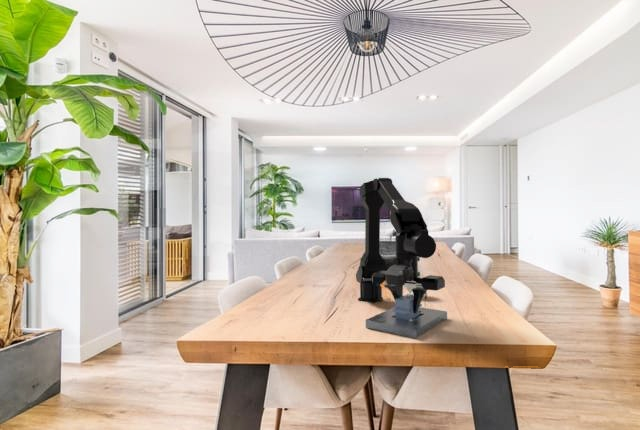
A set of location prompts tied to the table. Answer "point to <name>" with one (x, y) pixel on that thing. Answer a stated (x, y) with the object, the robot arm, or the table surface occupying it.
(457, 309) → the table surface
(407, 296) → the servo
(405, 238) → the robot arm
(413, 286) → the spinning top
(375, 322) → the chassis plate
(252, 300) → the table surface
